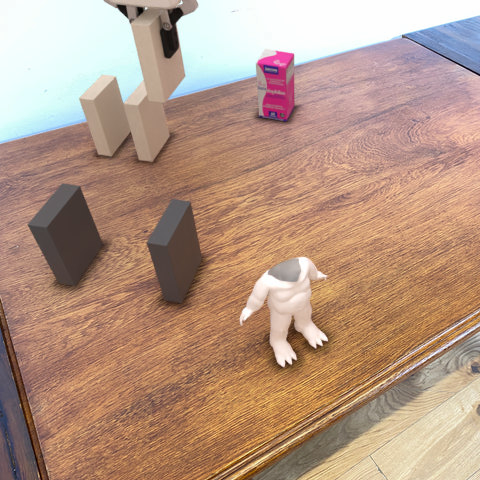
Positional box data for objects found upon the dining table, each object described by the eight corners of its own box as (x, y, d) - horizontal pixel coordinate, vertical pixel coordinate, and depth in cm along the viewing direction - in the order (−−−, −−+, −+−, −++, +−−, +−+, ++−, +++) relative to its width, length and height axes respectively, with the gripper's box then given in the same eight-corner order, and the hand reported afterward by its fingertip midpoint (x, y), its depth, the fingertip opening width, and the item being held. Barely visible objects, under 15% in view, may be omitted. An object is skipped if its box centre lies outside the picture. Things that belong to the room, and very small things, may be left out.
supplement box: (258, 118, 99) (254, 62, 91) (267, 102, 103) (264, 47, 95) (287, 123, 98) (285, 66, 90) (295, 107, 102) (294, 51, 94)
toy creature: (264, 382, 59) (258, 321, 51) (239, 345, 63) (229, 282, 54) (346, 333, 65) (353, 270, 56) (318, 301, 68) (320, 237, 59)
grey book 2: (164, 300, 67) (146, 242, 60) (185, 257, 73) (172, 198, 65) (182, 303, 67) (166, 245, 59) (202, 259, 73) (190, 201, 65)
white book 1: (98, 154, 89) (78, 98, 81) (118, 129, 95) (102, 74, 87) (111, 156, 89) (93, 99, 81) (131, 131, 95) (116, 75, 87)
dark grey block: (58, 283, 69) (26, 224, 61) (87, 241, 75) (62, 183, 67) (75, 286, 69) (46, 227, 61) (103, 244, 74) (80, 185, 66)
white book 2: (148, 101, 73) (130, 23, 65) (170, 74, 78) (155, 0, 71) (165, 103, 73) (148, 25, 65) (185, 76, 78) (172, 2, 70)
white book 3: (138, 160, 89) (122, 103, 81) (157, 134, 94) (143, 79, 86) (152, 161, 88) (137, 105, 80) (170, 136, 94) (158, 80, 86)
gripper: (46, -100, 57) (93, 58, 70) (184, -88, 55) (207, 72, 68) (80, -114, 62) (118, 35, 75) (208, -104, 60) (224, 47, 73)
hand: (160, 51), depth 72 cm, fingers closed on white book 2, 2 cm apart
